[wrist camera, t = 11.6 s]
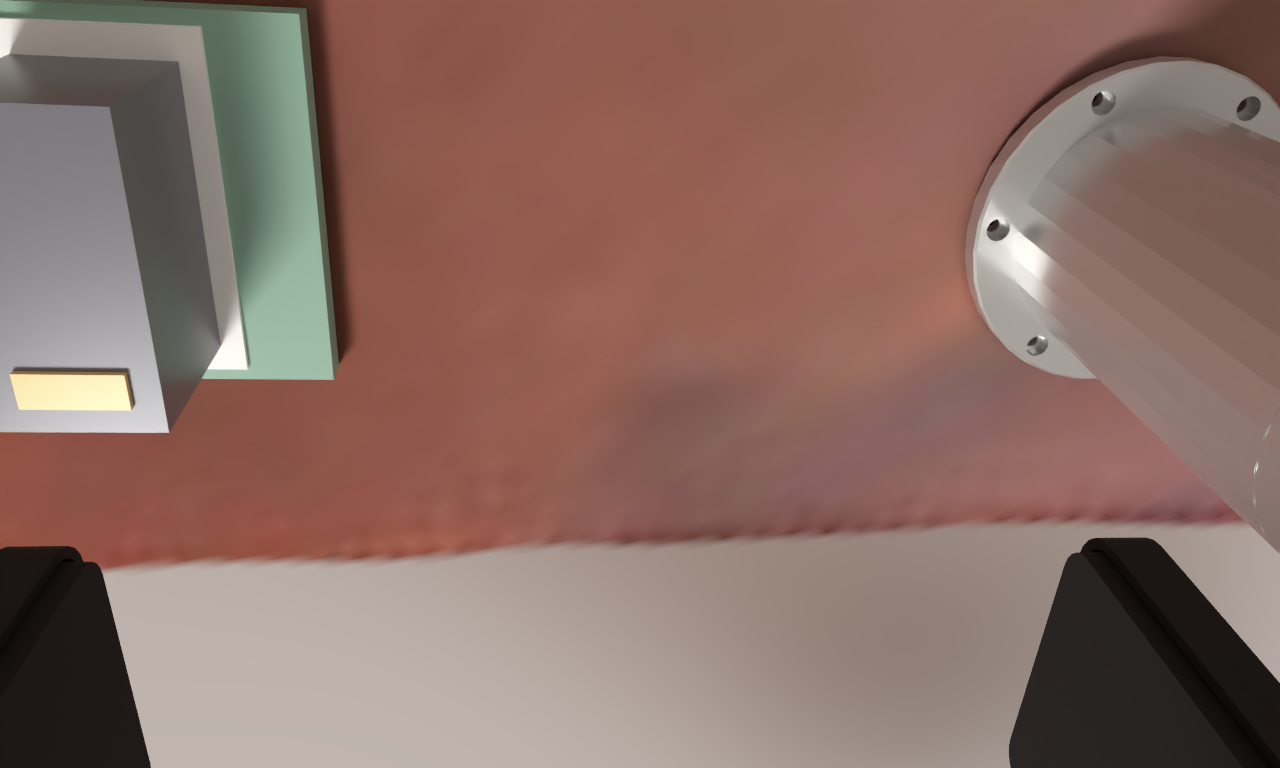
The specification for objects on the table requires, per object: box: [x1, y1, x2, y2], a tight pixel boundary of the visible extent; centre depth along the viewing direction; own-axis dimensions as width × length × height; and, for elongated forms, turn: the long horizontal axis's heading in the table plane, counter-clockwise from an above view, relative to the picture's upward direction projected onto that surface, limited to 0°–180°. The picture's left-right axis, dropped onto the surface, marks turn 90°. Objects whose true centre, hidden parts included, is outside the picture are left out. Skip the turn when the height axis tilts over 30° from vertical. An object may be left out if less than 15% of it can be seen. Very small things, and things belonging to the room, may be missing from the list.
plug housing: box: [0, 54, 221, 433], centre depth 31 cm, size 5×10×6 cm, turn 177°
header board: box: [0, 0, 339, 380], centre depth 33 cm, size 13×13×5 cm
